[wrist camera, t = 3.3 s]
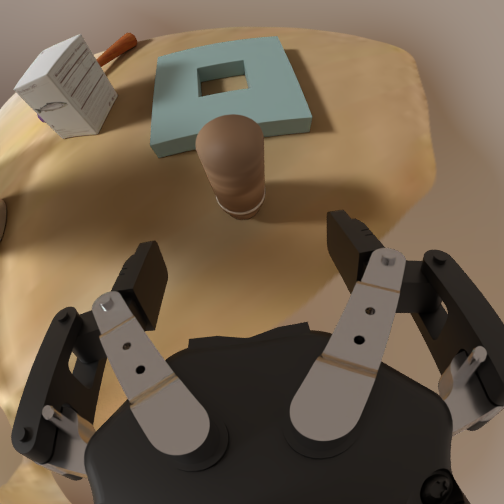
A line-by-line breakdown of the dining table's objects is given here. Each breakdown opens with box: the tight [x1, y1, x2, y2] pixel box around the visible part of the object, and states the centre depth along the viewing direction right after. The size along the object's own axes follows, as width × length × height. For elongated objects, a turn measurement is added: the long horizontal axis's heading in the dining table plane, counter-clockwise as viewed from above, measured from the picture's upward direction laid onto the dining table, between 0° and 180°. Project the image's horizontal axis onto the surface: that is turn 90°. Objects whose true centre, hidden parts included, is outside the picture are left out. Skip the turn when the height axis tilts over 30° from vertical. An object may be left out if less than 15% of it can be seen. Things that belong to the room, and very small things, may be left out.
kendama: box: [37, 33, 137, 123], centre depth 29 cm, size 6×6×20 cm
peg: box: [196, 114, 265, 220], centre depth 20 cm, size 4×4×10 cm
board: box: [150, 36, 312, 158], centre depth 26 cm, size 16×16×2 cm
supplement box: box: [14, 34, 118, 139], centre depth 22 cm, size 7×7×13 cm
